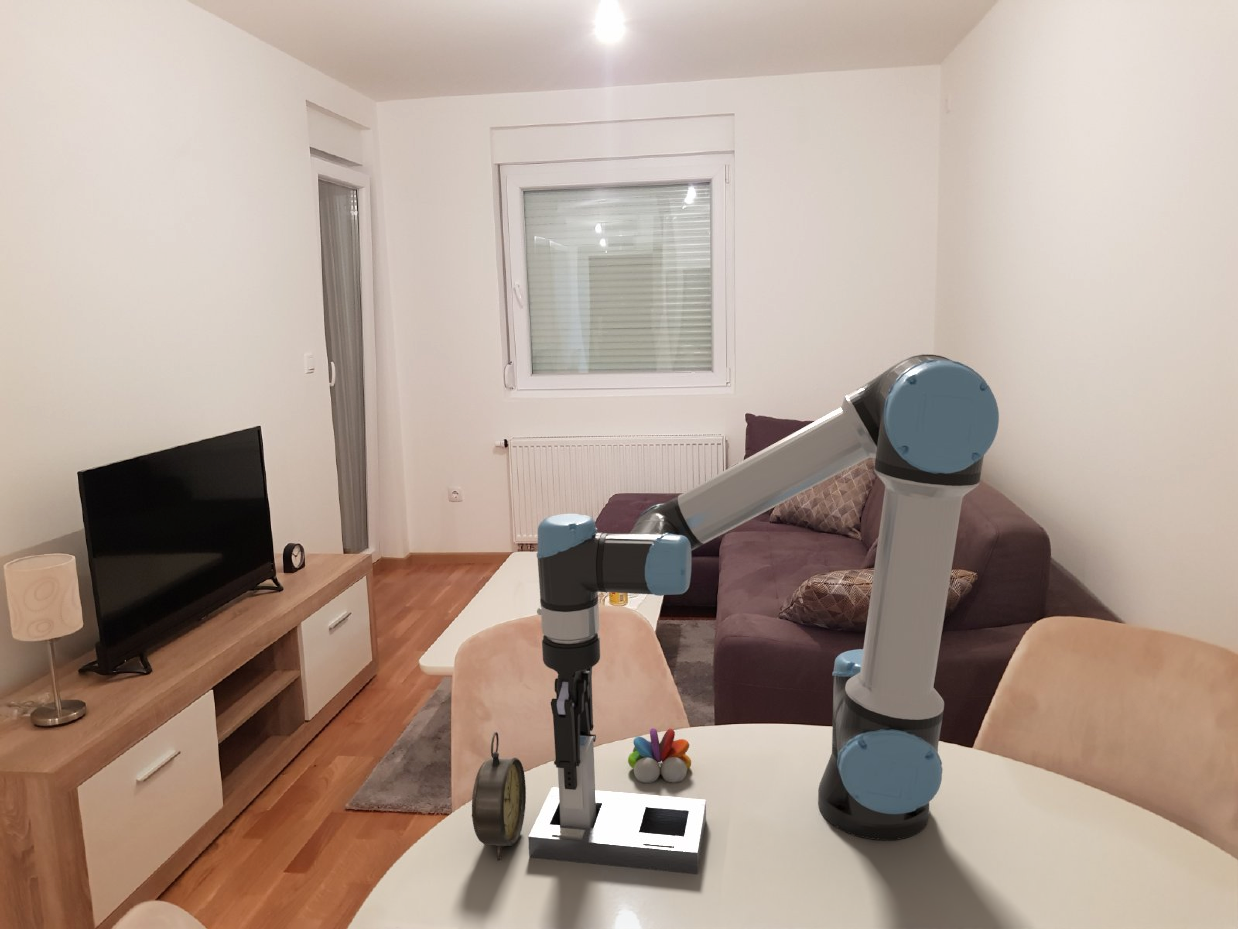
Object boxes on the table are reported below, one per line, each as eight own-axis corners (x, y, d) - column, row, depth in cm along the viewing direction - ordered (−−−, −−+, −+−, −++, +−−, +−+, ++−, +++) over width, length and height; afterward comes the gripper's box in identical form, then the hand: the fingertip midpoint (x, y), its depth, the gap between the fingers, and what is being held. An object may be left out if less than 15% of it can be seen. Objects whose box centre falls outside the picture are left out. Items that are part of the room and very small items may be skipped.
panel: (706, 823, 123) (706, 798, 122) (697, 878, 112) (697, 851, 111) (553, 809, 127) (552, 785, 127) (529, 861, 116) (528, 835, 115)
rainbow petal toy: (693, 787, 132) (692, 743, 131) (628, 788, 133) (627, 744, 131) (689, 758, 141) (688, 716, 139) (628, 759, 141) (627, 717, 140)
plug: (596, 817, 122) (592, 732, 119) (590, 834, 118) (586, 747, 116) (568, 815, 122) (564, 730, 120) (560, 832, 119) (556, 745, 116)
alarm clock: (508, 871, 114) (502, 755, 111) (467, 868, 115) (460, 752, 112) (529, 822, 124) (524, 714, 121) (492, 819, 125) (486, 713, 122)
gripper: (559, 609, 124) (566, 763, 128) (523, 658, 108) (533, 832, 112) (611, 611, 123) (616, 766, 127) (583, 661, 106) (591, 837, 110)
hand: (577, 797), depth 119 cm, fingers closed on plug, 4 cm apart
